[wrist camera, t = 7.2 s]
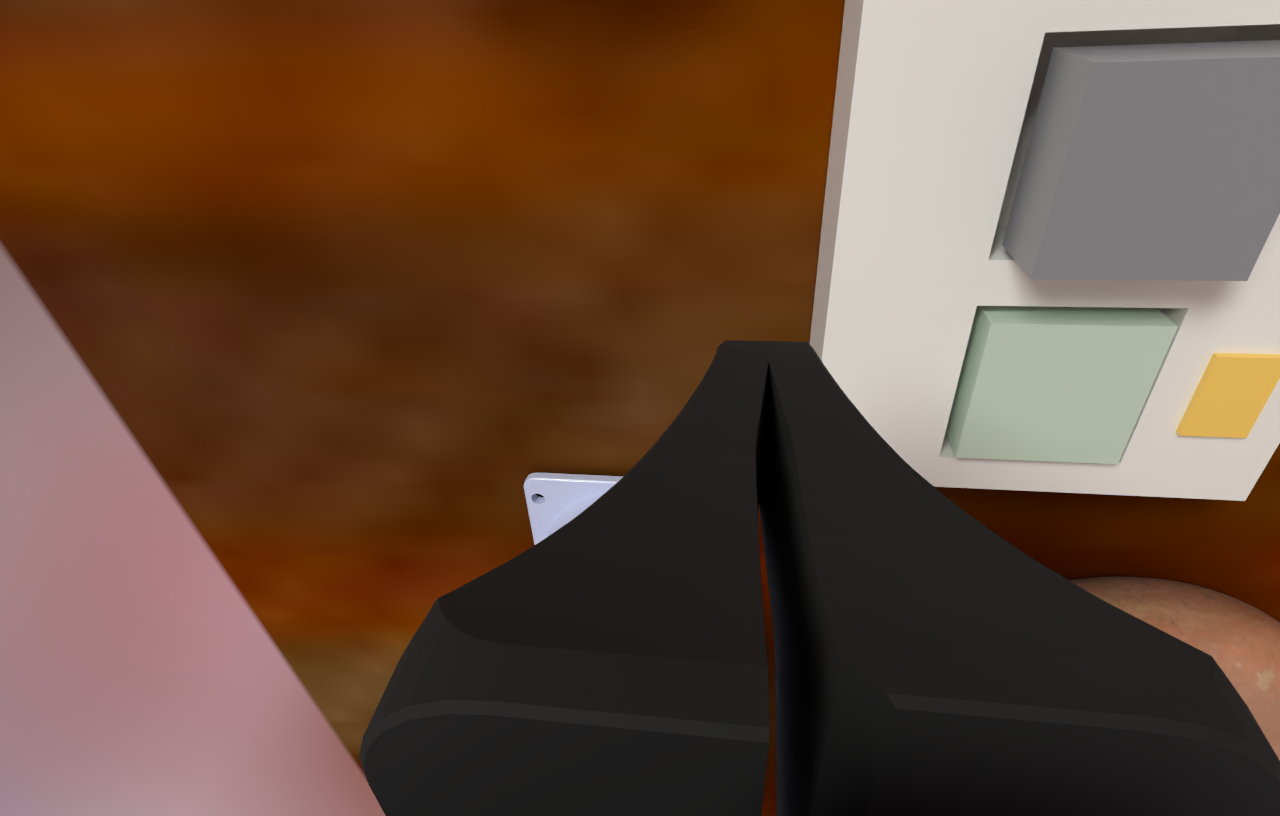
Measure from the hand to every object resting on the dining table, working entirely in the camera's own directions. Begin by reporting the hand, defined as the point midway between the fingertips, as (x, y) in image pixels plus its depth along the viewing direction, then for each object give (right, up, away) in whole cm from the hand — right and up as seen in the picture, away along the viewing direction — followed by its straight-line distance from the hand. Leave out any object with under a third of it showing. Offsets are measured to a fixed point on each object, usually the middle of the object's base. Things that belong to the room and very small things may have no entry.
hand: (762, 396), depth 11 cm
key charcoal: (+9, +5, +4) cm, 11 cm away
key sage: (+9, +1, +9) cm, 13 cm away
